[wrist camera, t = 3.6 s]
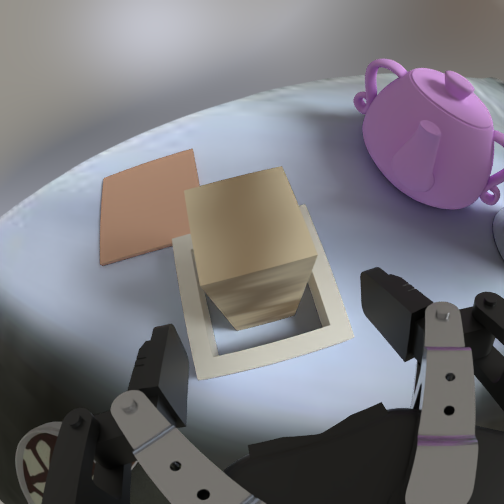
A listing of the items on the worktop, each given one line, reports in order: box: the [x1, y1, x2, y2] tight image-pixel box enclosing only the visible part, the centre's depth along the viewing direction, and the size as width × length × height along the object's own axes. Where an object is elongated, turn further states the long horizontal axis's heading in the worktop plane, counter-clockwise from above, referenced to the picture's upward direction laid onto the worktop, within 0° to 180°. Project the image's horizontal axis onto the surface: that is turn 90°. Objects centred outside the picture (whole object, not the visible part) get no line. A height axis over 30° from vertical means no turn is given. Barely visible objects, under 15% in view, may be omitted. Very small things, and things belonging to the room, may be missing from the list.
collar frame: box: [172, 204, 354, 380], centre depth 23 cm, size 12×12×3 cm
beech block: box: [184, 166, 318, 331], centre depth 18 cm, size 5×5×13 cm
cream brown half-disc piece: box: [15, 422, 138, 504], centre depth 14 cm, size 12×6×10 cm, turn 147°
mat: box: [100, 149, 200, 266], centre depth 29 cm, size 12×12×1 cm
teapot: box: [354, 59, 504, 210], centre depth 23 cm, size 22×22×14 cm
